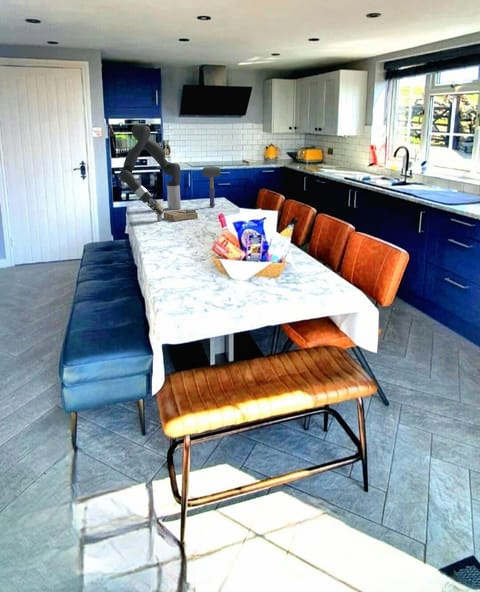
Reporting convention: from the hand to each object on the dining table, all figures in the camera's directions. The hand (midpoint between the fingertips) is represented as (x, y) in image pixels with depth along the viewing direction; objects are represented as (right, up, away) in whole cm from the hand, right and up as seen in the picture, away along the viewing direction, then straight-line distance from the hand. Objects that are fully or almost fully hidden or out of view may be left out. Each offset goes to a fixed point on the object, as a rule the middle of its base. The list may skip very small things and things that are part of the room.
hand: (162, 212), depth 338 cm
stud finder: (+18, +2, +9) cm, 20 cm away
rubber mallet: (+31, +12, +49) cm, 59 cm away
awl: (-2, -5, +2) cm, 6 cm away
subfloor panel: (+11, -2, +11) cm, 16 cm away
